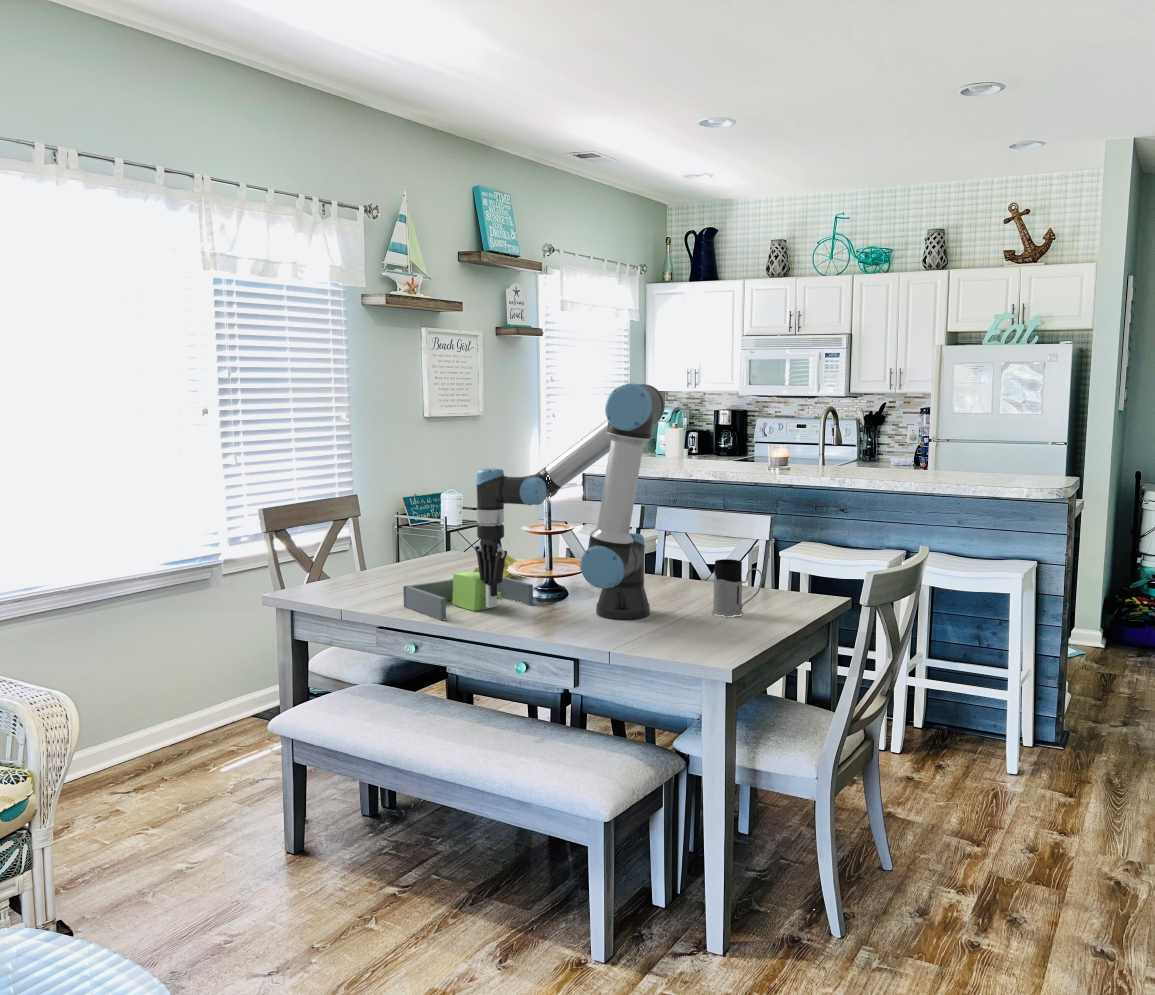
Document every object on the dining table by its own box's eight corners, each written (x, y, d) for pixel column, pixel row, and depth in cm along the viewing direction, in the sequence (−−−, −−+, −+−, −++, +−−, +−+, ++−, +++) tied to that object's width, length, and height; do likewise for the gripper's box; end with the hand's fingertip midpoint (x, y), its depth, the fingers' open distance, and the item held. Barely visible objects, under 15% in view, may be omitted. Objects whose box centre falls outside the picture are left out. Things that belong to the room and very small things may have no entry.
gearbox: (511, 611, 270) (512, 578, 269) (483, 614, 263) (485, 581, 262) (473, 599, 283) (474, 568, 282) (446, 603, 276) (447, 571, 275)
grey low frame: (532, 604, 276) (532, 584, 275) (441, 620, 256) (440, 598, 256) (492, 592, 292) (492, 573, 291) (403, 606, 272) (403, 586, 272)
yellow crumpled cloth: (499, 579, 301) (473, 564, 303) (491, 598, 303) (465, 583, 306) (524, 564, 319) (499, 550, 322) (516, 582, 322) (491, 568, 324)
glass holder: (717, 609, 271) (718, 557, 269) (765, 614, 265) (767, 562, 263) (707, 615, 263) (708, 562, 262) (756, 621, 257) (757, 567, 255)
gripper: (515, 525, 260) (515, 609, 262) (488, 520, 270) (489, 601, 272) (492, 527, 255) (493, 613, 258) (466, 522, 265) (467, 604, 268)
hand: (491, 606), depth 265 cm, fingers closed
